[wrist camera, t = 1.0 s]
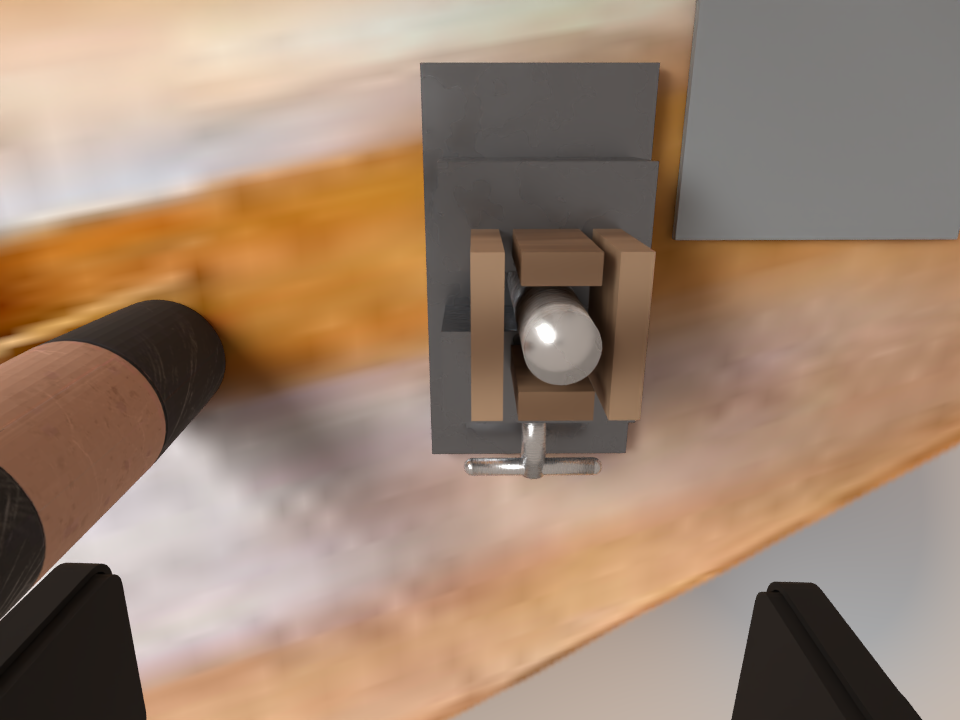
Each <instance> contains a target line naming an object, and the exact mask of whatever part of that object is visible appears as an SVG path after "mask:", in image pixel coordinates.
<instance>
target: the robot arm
mask: <svg viewBox="0 0 960 720" xmlns="http://www.w3.org/2000/svg"><path fill="white" fill-rule="evenodd" d="M0 720H146V710H145V704H144V699H143V693H142V688H141V682H140V677H139V672H138V666H137V661H136V655H135V650H134V644H133V639H132V634H131V628H130V623H129V617H128V612H127V606H126V601H125V596H124V590H123V585H122V581H121V578H120V577H119V576H118V575H115V574H112V572H111V569H110V568H109V567H108V566H107V565H105V564H93V563H63V564H60V565H58V566H57V567H56V568H54V569H53V570H52V571H51V572H50V573H49V574H48V575H47V576H46V577H45V578H44V579H43V580H42V581H41V582H40V583H39V584H38V585H37V586H36V587H35V588H34V589H33V590H32V591H31V592H30V593H29V594H27V595H26V596H25V597H24V598H23V599H22V600H21V601H20V602H19V603H18V604H17V605H16V606H15V607H14V608H13V609H12V610H11V611H10V612H9V613H8V614H7V615H6V616H5V617H4V618H3V619H2V620H1V621H0ZM731 720H922V719H921V718H920V716H919V715H918V714H917V712H916V711H915V710H914V709H913V707H912V706H911V705H910V703H909V702H908V701H907V699H906V698H905V697H904V696H903V695H902V694H901V693H900V692H899V691H898V689H897V688H896V687H895V685H894V684H893V683H892V682H891V680H890V679H889V678H888V676H887V675H886V674H885V672H884V671H883V670H882V669H881V667H880V666H879V664H878V663H877V662H876V661H875V659H874V658H873V657H872V655H871V654H870V653H869V651H868V650H867V649H866V648H865V646H864V645H863V644H862V642H861V641H860V640H859V638H858V637H857V636H856V635H855V633H854V632H853V631H852V629H851V628H850V627H849V625H848V624H847V623H846V622H845V620H844V619H843V618H842V616H841V615H840V614H839V612H838V611H837V610H836V608H835V607H834V606H833V604H832V603H831V602H830V601H829V599H828V598H827V597H826V595H825V594H824V593H823V591H822V590H821V589H820V588H819V587H818V586H817V585H816V584H813V583H804V582H773V583H771V584H770V585H769V586H768V589H767V592H760V593H758V595H757V597H756V600H755V605H754V610H753V615H752V620H751V624H750V629H749V635H748V639H747V644H746V649H745V654H744V660H743V664H742V670H741V674H740V679H739V685H738V690H737V694H736V699H735V705H734V709H733V714H732V719H731Z"/></svg>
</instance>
